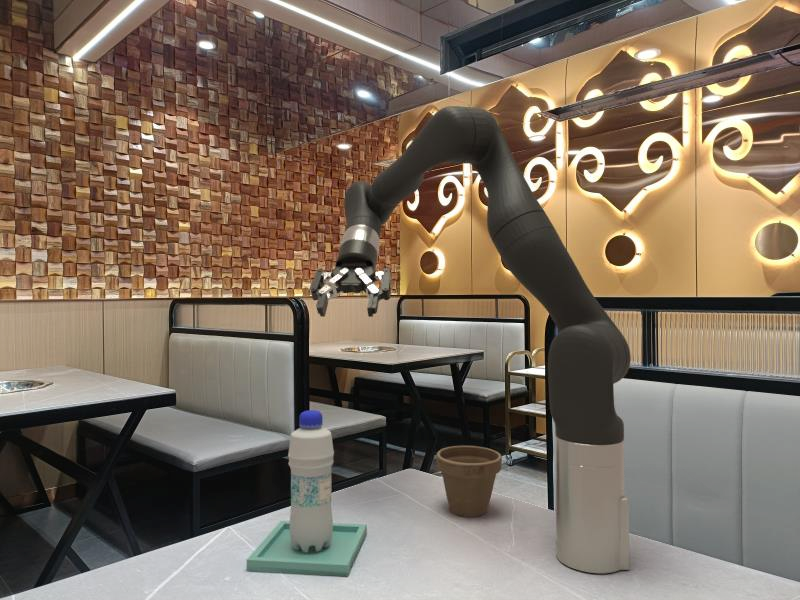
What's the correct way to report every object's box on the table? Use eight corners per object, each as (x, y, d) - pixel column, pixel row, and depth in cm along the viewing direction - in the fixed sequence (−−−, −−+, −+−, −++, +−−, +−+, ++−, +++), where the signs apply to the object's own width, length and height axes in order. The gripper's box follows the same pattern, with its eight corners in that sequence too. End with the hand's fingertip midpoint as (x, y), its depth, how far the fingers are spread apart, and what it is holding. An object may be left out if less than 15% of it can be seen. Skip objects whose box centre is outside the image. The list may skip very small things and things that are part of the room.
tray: (366, 534, 89) (366, 524, 89) (347, 576, 75) (347, 565, 75) (280, 530, 91) (280, 520, 91) (246, 570, 77) (246, 559, 77)
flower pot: (507, 523, 93) (507, 462, 93) (438, 523, 93) (438, 462, 93) (496, 499, 105) (496, 445, 105) (434, 499, 105) (434, 445, 105)
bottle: (325, 558, 79) (325, 415, 79) (280, 554, 81) (280, 413, 81) (340, 538, 86) (339, 406, 86) (298, 535, 87) (298, 405, 87)
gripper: (318, 238, 107) (301, 298, 96) (393, 237, 106) (384, 297, 94) (326, 268, 113) (309, 328, 101) (397, 267, 111) (388, 328, 99)
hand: (345, 313), depth 98 cm, fingers open, 8 cm apart
